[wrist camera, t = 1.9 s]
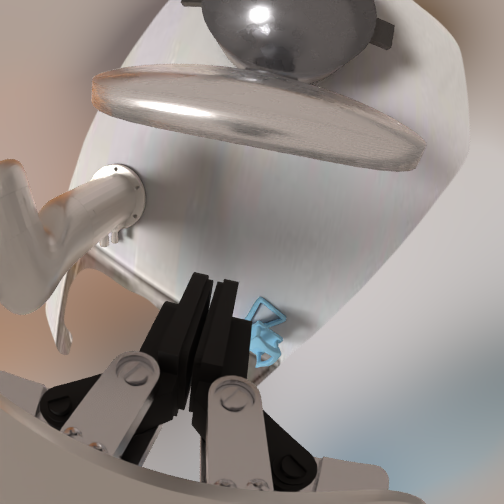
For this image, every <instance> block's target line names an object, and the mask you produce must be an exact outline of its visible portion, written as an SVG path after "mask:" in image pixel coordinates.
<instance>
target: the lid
mask: <svg viewBox="0 0 504 504" xmlns="http://www.w3.org/2000/svg"><path fill="white" fill-rule="evenodd" d="M92 104H93V106H94V107H95V108H96V109H98V110H99V111H100V112H103V113H105V114H107V115H110V116H112V117H116V118H119V119H123V120H126V121H129V122H133V123H138V124H142V125H147V126H151V127H155V128H160V129H165V130H170V131H175V132H180V133H185V134H190V135H194V136H200V137H206V138H211V139H216V140H221V141H226V142H231V143H235V144H241V145H247V146H252V147H257V148H262V149H267V150H272V151H277V152H281V153H287V154H292V155H298V156H303V157H308V158H313V159H317V160H322V161H328V162H334V163H339V164H344V165H350V166H355V167H362V168H369V169H375V170H383V171H396V172H399V171H410V170H413V169H415V168H416V167H417V165H418V163H419V161H420V159H421V157H422V154H423V152H424V149H425V147H426V143H425V141H424V140H423V139H422V138H421V137H420V136H419V135H418V134H417V133H415V132H414V131H412V130H411V129H410V128H408V127H407V126H405V125H403V124H402V123H400V122H399V121H397V120H395V119H393V118H392V117H390V116H388V115H386V114H384V113H382V112H380V111H378V110H376V109H374V108H372V107H370V106H368V105H365V104H363V103H361V102H359V101H356V100H354V99H351V98H349V97H346V96H344V95H341V94H338V93H336V92H333V91H330V90H327V89H324V88H321V87H318V86H315V85H312V84H308V83H305V82H301V81H298V78H295V77H291V76H286V75H282V74H278V73H273V72H268V71H263V70H258V69H253V68H247V67H246V68H245V69H239V68H232V67H223V66H213V65H198V64H154V65H141V66H132V67H125V68H119V69H114V70H110V71H106V72H103V73H100V74H98V75H96V76H94V77H93V79H92Z"/></svg>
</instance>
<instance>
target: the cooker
mask: <svg viewBox="0 0 504 504" xmlns="http://www.w3.org/2000/svg"><path fill="white" fill-rule="evenodd" d="M181 3H182V5H183V6H190V7H202V13H203V16H204V20H205V22H206V24H207V26H208V28H209V30H210V32H211V33H212V35H213V36H214V38H215V39H216V41H217V42H218V44H219V45H220V47H221V48H222V50H223V52H224V53H225V55H226V56H227V58H228V59H229V60H230V61H231V62H232V63H233V64H234V65H235V66H236V67H237V68H239V69H245V68H246V67H247V68H253V69H258V70H263V71H268V72H273V73H278V74H282V75H286V76H291V77H295V78H298V81H301V82H305V83H308V84H310V83H314V82H317V81H319V80H322V79H324V78H326V77H327V76H329V75H331V74H332V73H333V72H335V71H336V70H337V69H339V68H340V67H342V66H343V65H344V64H346V63H347V62H348V61H350V60H351V59H352V58H354V57H355V56H357V55H358V54H359V53H360V52H361V51H362V50H363V49H364V48H365V47H366V46H367V44H368V43H371V44H374V45H376V46H379V47H381V48H383V49H385V50H388V49H389V48H391V45H392V39H393V33H394V25H392V24H390V23H388V22H386V21H383V20H381V19H379V18H377V17H376V8H375V4H374V0H181Z"/></svg>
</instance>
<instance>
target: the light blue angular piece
mask: <svg viewBox="0 0 504 504" xmlns="http://www.w3.org/2000/svg"><path fill="white" fill-rule="evenodd" d="M260 303H263V304H264V305H265V306H266V307H268V308H269V309H270V310H271V311H273V312H274V313H275V314H276V315H277V316H279V317H280V318H279V319H276V320H273V321H270V322H267V323H264V324H263V323H262V322H261V321H259V320H258V321H257V322H256V323H254V324H253V325H252V331H251V341H250V351H252V352H253V353H254V354H256V355H257V364H256V368H258V367H261V366H269V365H272V364H273V363H274V362H276V361H277V359H278V358H279V357H280V356H281V351H280V349H279V347H278V344H279V343H281V342H282V341H283V338H282V337H281V336H279V335H278V334H276V333H275V332H273V331H272V330H271V329H269V327H272V326H275V325H277V324H280V323H282V322H284V321H286V316H285V315H283V314H282V313H281V312H280V311H278V310H277V309H276V308H275V307H273V306H272V305H271V304H270V303H269V302H267V301H266V300H265V299H264V298H262V297H259V298H258V299H257V300H256V302H255V303H254V305H253V307H252V308H251V310H250V312H249V313H248V315H247V317H246V318H245V320H249V321H250V320H251V319H252V317H253V315H254V313H255V311H256V310H257V308H258V306H259V304H260ZM274 347H275V348H274ZM265 352H266V353H267V354H269V355H270V356H271V358H269V359H268V360H266V361H263V362H260V360H261V355H262V354H264V353H265Z"/></svg>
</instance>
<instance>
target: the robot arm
mask: <svg viewBox="0 0 504 504" xmlns="http://www.w3.org/2000/svg"><path fill="white" fill-rule="evenodd" d="M117 168H118V169H117ZM138 186H139V187H138ZM145 201H146V197H145V190H144V187H143V184H142V182H141V180H140V178H139V177H138V176H137V174H136V173H135V172H134V171H133V170H131V169H130V168H128V167H126V166H124V165H120V164H111V165H107V166H105V167H102V168H101V169H100V170H98V171H97V172H96V173H95V175H94V176H93V178H92V180H91V181H89V182H87V183H85V184H83V185H80V186H78V187H76V188H74V189H72V190H70V191H67V192H65V193H63V194H61V195H59V196H57V197H55V198H53V199H51V200H50V201H48V202H47V203H46V204H45V205H44V206H43V207H42V208H41V210H40V211H39V213H38V212H37V209H36V206H35V203H34V199H33V196H32V193H31V189H30V186H29V182H28V179H27V176H26V172H25V170H24V168H23V166H22V164H21V163H20V162H19V161H17V160H15V159H5V160H2V161H0V303H1V304H2V305H3V306H4V307H5V308H6V309H8V310H9V311H10V312H12V313H15V314H18V315H24V314H25V315H26V314H29V313H32V312H34V311H36V310H37V309H39V308H40V307H41V306H42V305H43V304H44V303H45V302H46V301H47V300H48V299H49V298H50V296H51V295H52V293H53V292H54V291H55V289H56V287H57V286H58V284H59V282H60V281H61V279H62V278H63V276H64V275H65V274H66V272H67V271H68V270H69V269H70V268H71V267H72V265H73V264H74V263H75V262H77V261H78V260H79V259H80V258H81V257H82V256H83V255H84V254H85V253H86V252H88V251H89V250H90V249H91V248H92V247H93V246H95V245H96V244H97V243H98V242H99V241H100V246H101V247H107V246H109V236H108V234H109V233H110V232H112V236H111V242H112V243H118V232H119V230H120V229H125V228H128V227H130V226H132V225H133V224H134V223H136V222H137V221H138V220H139V218H140V217H141V215H142V213H143V211H144V208H145ZM208 278H209V276H208V275H205V274H200V273H196V272H194V273H193V275H192V277H191V279H190V281H189V283H188V285H187V287H186V290H185V292H184V294H183V296H182V298H181V300H180V303H179V304H175V303H171V302H168V301H166V302H165V303H164V304H163V306H162V308H161V310H160V312H159V314H158V316H157V317H156V320H155V321H154V323H153V325H152V327H151V329H150V331H149V333H148V335H147V337H146V339H145V341H144V343H143V345H142V347H141V349H140V351H129V352H125V353H122V354H120V355H118V356H117V357H116V358H115V359H114V360H113V361H112V362H111V364H110V365H109V366H108V368H107V369H106V370H105V371H104V373H102V374H99V375H95V376H92V377H88V378H85V379H81V380H78V381H74V382H70V383H67V384H63V385H59V386H55V387H53V388H50V389H49V388H46V387H45V385H44V384H40V383H37V382H34V381H30V380H27V379H24V378H21V377H18V376H15V375H13V374H10V373H7V372H4V371H0V504H426V503H425V502H424V501H423V500H421V499H420V498H418V497H416V496H413V495H411V494H408V493H403V492H399V491H391V490H388V488H389V478H388V475H387V473H386V471H385V470H384V469H382V468H381V467H379V466H376V465H371V464H363V463H355V462H349V461H344V460H338V459H333V458H328V457H323V458H322V459H321V458H316V457H313V456H312V455H311V454H310V453H309V452H308V451H307V450H306V449H305V448H304V447H302V446H301V445H300V444H299V443H298V442H297V441H296V440H294V439H293V438H292V437H291V436H290V435H289V434H288V433H287V432H286V431H285V430H284V429H283V428H281V427H280V426H279V425H278V424H277V423H276V422H275V421H274V420H273V419H272V418H271V417H270V416H269V415H268V414H267V413H266V412H265V411H264V410H263V408H262V401H261V395H260V392H259V390H258V389H257V387H256V386H255V385H254V384H253V383H252V382H250V381H249V380H247V371H248V361H249V351H250V341H251V331H252V321H249V320H244V319H240V318H235V317H232V315H233V310H234V305H235V299H236V294H237V289H238V284H239V282H236V281H231V280H227V279H224V282H223V283H222V282H217V285H216V289H215V292H214V295H213V298H212V301H211V305H210V299H211V293H212V287H213V280H209V279H208ZM209 305H210V308H209ZM190 387H191V394H190V404H189V412H193V417H192V426H193V427H194V428H195V429H196V431H197V432H198V433H199V434H200V436H201V437H200V482H196V481H192V480H187V479H183V478H179V477H175V476H171V475H167V474H164V473H160V472H157V471H153V470H150V469H147V468H144V467H142V465H143V463H144V462H145V460H146V458H147V456H148V454H149V452H150V450H151V448H152V446H153V444H154V442H155V440H156V438H157V436H158V434H159V432H160V430H161V429H162V425H163V423H166V422H168V421H170V420H172V419H173V416H177V413H178V409H182V410H184V409H185V405H186V402H187V398H188V395H189V391H190Z"/></svg>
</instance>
